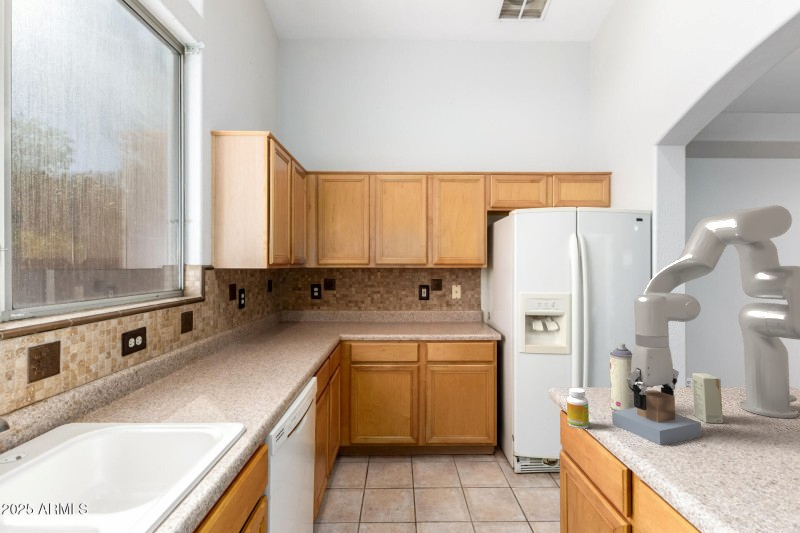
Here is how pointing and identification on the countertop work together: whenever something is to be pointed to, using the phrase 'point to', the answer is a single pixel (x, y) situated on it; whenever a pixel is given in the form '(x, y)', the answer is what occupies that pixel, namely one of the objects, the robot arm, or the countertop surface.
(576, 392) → the supplement bottle
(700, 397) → the skincare box
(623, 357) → the aerosol can
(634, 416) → the slate base block
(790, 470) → the countertop surface
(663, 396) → the walnut cube
